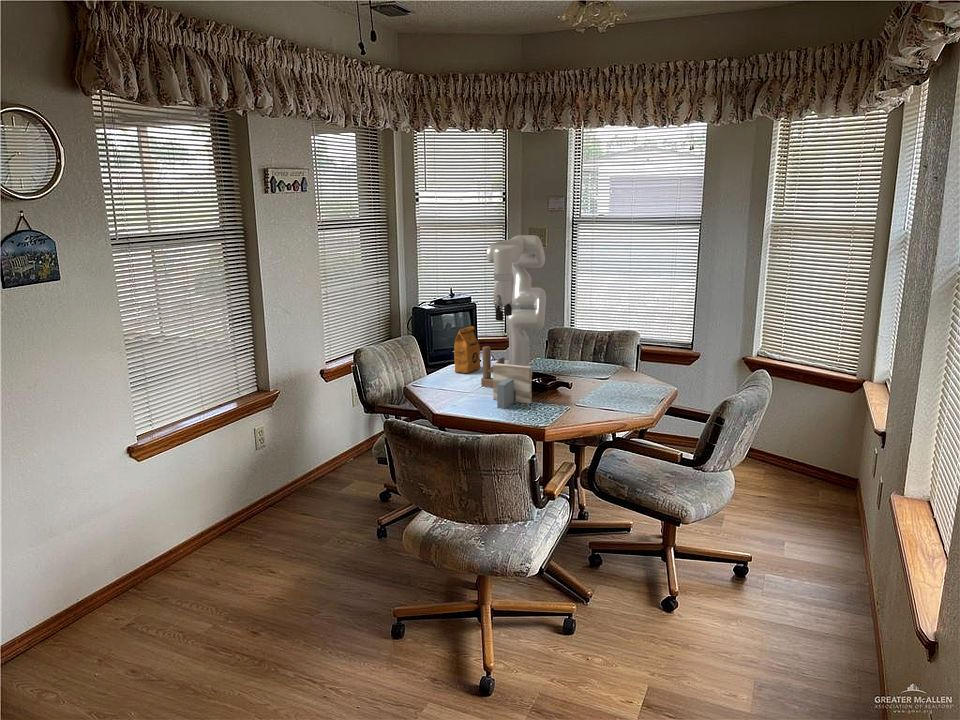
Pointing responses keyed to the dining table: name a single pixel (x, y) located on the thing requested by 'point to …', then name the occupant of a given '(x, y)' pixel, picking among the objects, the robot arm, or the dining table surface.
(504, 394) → the grey rectangular panel
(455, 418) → the dining table surface
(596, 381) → the dining table surface
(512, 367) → the upright beige panel
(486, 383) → the tan post stand
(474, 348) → the coffee package
